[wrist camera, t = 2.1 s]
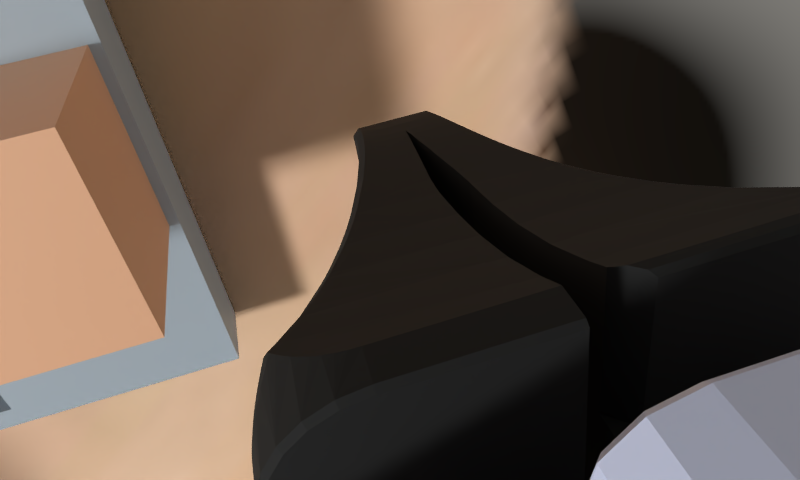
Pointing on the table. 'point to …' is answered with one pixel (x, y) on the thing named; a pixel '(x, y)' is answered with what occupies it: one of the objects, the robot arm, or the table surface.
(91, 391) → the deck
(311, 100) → the table surface
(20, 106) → the block
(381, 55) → the table surface
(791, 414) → the robot arm
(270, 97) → the table surface
